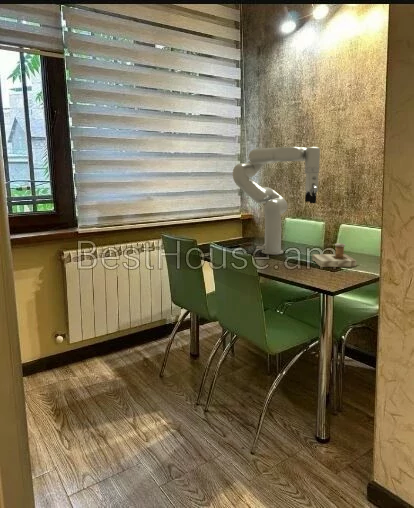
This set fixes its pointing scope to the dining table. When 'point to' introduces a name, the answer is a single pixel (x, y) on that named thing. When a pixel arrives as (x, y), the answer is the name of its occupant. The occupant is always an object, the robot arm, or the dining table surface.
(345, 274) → the dining table surface
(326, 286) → the dining table surface
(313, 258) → the socket board
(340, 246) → the bobbin
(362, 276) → the dining table surface
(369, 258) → the dining table surface
